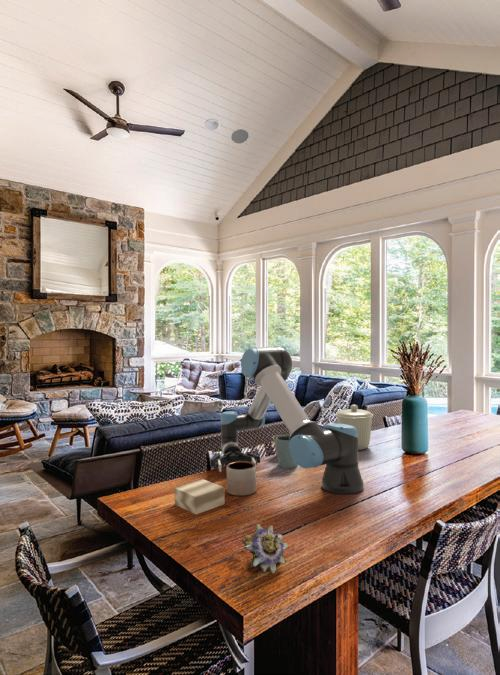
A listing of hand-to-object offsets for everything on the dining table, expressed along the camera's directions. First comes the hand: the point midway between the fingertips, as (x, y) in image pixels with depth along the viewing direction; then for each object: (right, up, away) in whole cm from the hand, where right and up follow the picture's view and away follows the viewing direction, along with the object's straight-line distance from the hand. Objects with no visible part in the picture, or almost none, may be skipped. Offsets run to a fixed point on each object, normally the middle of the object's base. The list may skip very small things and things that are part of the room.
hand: (237, 467), depth 171 cm
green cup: (+21, -5, +21) cm, 30 cm away
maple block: (-12, -7, -20) cm, 25 cm away
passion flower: (+8, -7, -60) cm, 61 cm away
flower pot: (+20, -5, +35) cm, 41 cm away
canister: (+56, -4, +46) cm, 73 cm away
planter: (+2, -6, -9) cm, 11 cm away
